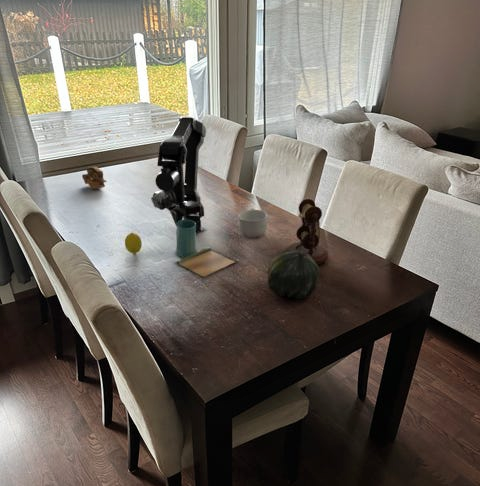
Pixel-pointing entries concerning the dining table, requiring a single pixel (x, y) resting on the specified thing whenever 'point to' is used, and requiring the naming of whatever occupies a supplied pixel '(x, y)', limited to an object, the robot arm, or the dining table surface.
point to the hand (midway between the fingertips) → (177, 226)
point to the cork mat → (204, 262)
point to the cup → (186, 237)
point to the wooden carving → (94, 178)
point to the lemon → (133, 243)
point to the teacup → (253, 222)
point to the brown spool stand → (309, 233)
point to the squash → (293, 274)
